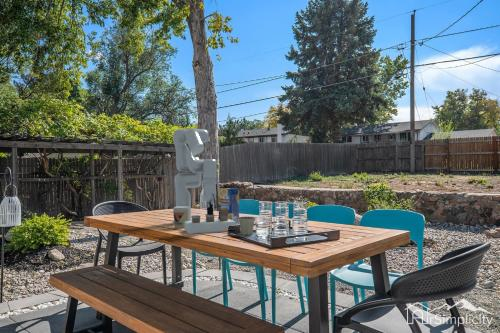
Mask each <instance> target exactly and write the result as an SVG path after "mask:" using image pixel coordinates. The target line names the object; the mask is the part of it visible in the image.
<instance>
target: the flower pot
mask: <svg viewBox="0 0 500 333" xmlns="http://www.w3.org/2000/svg"><path fill="white" fill-rule="evenodd" d="M256 218H257V217H255V216H239V217H238V219H239V229H240V235H242V234H243V235H242V236H247V235H248V236H252V235H253V234H254V227H255V221H256ZM251 234H252V235H251Z"/></svg>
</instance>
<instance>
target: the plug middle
mask: <svg viewBox="0 0 500 333" xmlns="http://www.w3.org/2000/svg"><path fill="white" fill-rule="evenodd" d="M205 220H206V222H214V220H215V214H214V213H213V215H207V213H206V214H205Z"/></svg>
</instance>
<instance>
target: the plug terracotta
mask: <svg viewBox="0 0 500 333" xmlns="http://www.w3.org/2000/svg"><path fill="white" fill-rule="evenodd" d="M219 209H220V221H228V207H219V206H218V210H219Z"/></svg>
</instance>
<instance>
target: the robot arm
mask: <svg viewBox="0 0 500 333" xmlns="http://www.w3.org/2000/svg"><path fill="white" fill-rule="evenodd" d="M209 136H210V135H209V132H208V131H207V130H206V129H204V128H179V129H175V130H174V131H173V135H172V141H173V145H174V147H175V149H174V150H175V164H176V165H175V166H176V169H177V170H178V171H179V172H183V173H177V174H176V175H174V180H173V182H174V188H175V189H174V190H175V207H178V206H187V207H189V218H188V221H192V217H191V216H192V205H191V204H192V200H191V199H192V194H191V192H190V191H189V189H193V188H194V189H195V188H200V186H201V185H202V184H203V191H202V192H203V193H202V194H203V196H202V199H203V200H202V201H203V202H204V203H206V214H207V215H213V214H214V204H215V202H216V201H217V189H216V188H217V187H216V185H217V184H218V183H217V180H218V179H217V177H218V175H217V174H218V173H217V160H216V159H211V158H207V159H206V158H205V159H204V158H202V159H200V158H199V157H197V155H199V154H201V153H202V152H203V151H204V150H205V146H204V144H205V143H207V142H208V141H209ZM186 143H187V144H186ZM188 172H189V173H188Z"/></svg>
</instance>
